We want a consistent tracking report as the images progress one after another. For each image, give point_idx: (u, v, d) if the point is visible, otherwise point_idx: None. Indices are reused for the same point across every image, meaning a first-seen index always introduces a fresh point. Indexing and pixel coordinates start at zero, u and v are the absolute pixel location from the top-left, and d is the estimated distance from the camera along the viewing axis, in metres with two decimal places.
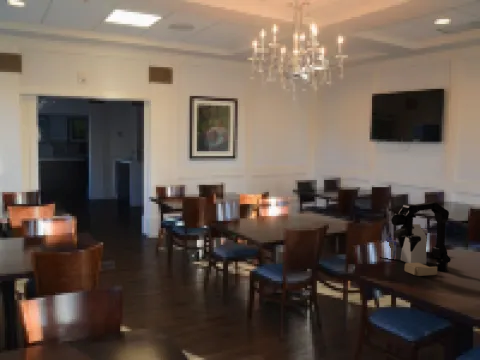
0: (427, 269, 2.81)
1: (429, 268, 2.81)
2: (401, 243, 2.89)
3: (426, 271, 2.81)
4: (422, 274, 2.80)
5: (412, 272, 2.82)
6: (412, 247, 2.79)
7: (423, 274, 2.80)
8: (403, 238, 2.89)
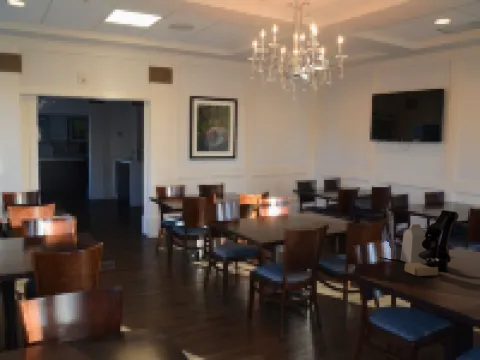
0: (427, 269, 2.80)
1: (429, 268, 2.81)
2: None
3: (426, 271, 2.80)
4: (422, 274, 2.80)
5: (412, 272, 2.82)
6: None
7: (423, 274, 2.80)
8: None
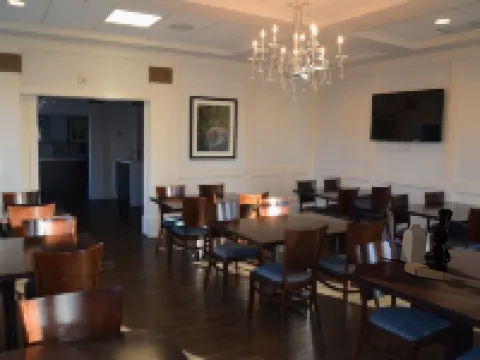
0: (429, 271, 2.75)
1: (432, 271, 2.75)
2: (437, 270, 2.76)
3: (427, 273, 2.76)
4: (422, 275, 2.77)
5: (412, 272, 2.82)
6: None
7: (424, 275, 2.77)
8: None
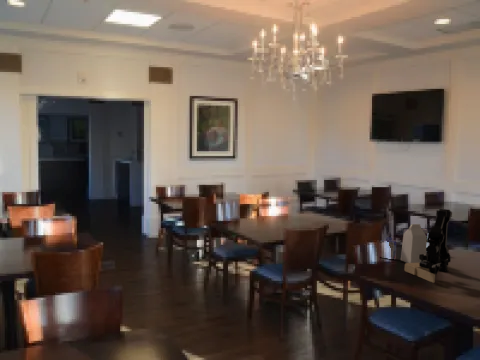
0: (424, 273, 2.73)
1: (426, 272, 2.71)
2: (433, 272, 2.73)
3: (423, 274, 2.73)
4: (420, 276, 2.76)
5: (412, 272, 2.82)
6: None
7: (421, 276, 2.75)
8: None
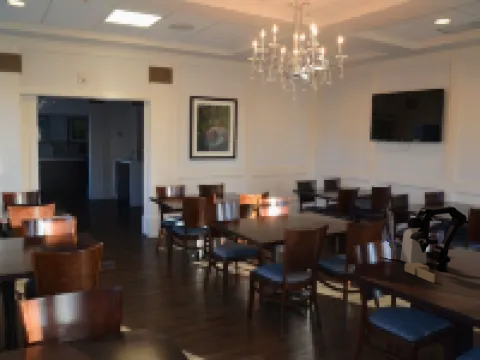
0: (424, 273, 2.73)
1: (426, 272, 2.71)
2: None
3: (423, 274, 2.73)
4: (420, 276, 2.76)
5: (412, 272, 2.82)
6: (424, 248, 2.89)
7: (421, 276, 2.75)
8: None
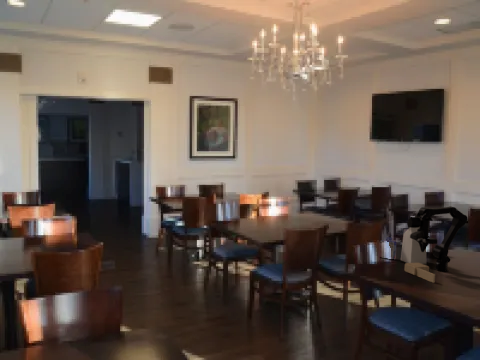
0: (424, 273, 2.73)
1: (426, 272, 2.71)
2: None
3: (423, 274, 2.73)
4: (420, 276, 2.76)
5: (412, 272, 2.82)
6: (423, 248, 2.90)
7: (421, 276, 2.75)
8: None
